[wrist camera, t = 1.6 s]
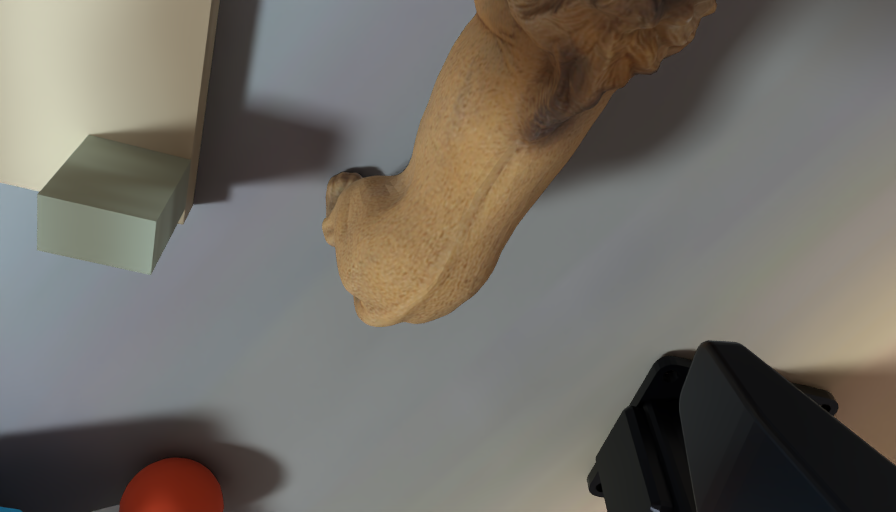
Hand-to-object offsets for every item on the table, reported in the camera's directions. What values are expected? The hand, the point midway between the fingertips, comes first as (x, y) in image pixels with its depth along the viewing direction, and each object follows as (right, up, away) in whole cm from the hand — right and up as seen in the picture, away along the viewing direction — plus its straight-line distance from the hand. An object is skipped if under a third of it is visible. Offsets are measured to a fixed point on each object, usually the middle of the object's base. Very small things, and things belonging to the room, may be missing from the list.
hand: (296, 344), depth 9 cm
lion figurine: (+2, +7, +11) cm, 13 cm away
